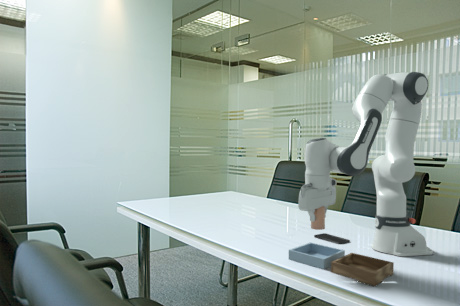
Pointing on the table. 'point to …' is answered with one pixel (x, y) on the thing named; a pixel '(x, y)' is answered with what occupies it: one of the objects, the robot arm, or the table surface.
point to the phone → (332, 238)
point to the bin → (315, 255)
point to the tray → (362, 268)
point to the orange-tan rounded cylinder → (319, 219)
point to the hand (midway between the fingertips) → (317, 219)
